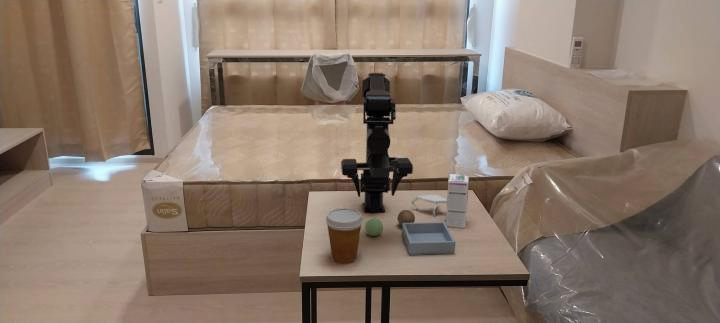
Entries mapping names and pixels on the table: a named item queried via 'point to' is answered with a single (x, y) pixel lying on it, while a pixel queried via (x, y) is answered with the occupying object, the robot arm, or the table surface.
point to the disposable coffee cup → (344, 233)
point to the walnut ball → (406, 217)
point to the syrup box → (457, 200)
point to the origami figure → (431, 200)
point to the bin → (428, 238)
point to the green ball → (373, 227)
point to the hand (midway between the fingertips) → (375, 195)
